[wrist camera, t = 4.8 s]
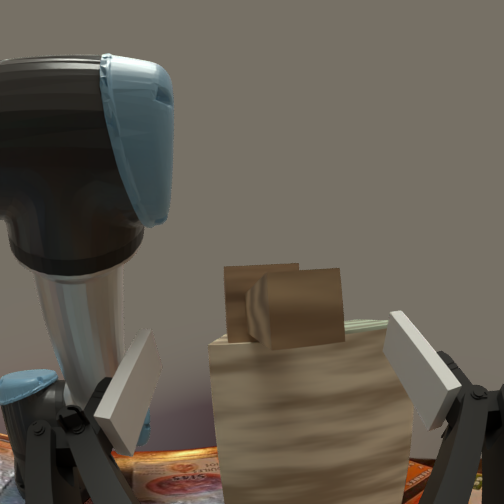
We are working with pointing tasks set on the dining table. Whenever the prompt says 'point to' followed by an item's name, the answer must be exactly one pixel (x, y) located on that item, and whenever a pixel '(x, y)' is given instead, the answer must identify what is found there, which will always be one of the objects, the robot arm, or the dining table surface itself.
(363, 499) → the stand
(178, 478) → the dining table surface
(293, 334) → the mallet
